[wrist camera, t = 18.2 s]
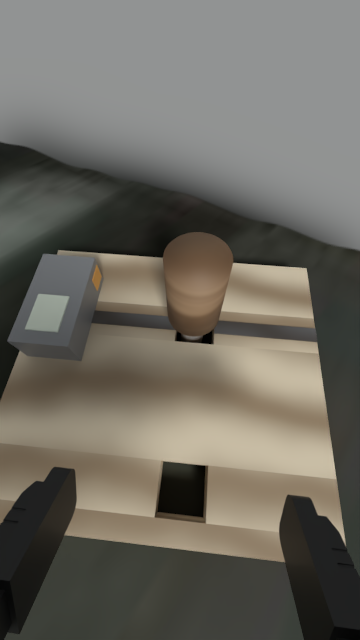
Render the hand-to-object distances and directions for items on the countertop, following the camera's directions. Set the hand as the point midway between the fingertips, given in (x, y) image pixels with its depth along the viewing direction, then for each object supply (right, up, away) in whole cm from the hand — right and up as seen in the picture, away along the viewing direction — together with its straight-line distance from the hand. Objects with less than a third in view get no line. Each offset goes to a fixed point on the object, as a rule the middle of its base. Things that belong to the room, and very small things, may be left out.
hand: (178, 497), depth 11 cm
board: (-1, +2, +14) cm, 14 cm away
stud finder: (-10, +7, +14) cm, 18 cm away
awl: (+1, +5, +15) cm, 16 cm away
